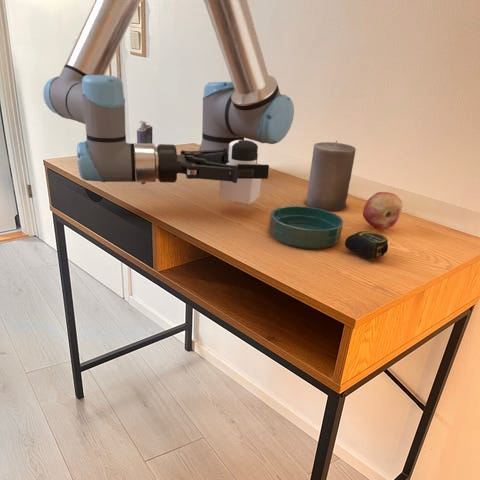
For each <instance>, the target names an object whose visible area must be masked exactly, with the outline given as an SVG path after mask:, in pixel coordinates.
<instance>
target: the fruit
mask: <svg viewBox="0 0 480 480" xmlns="http://www.w3.org/2000/svg"><path fill="white" fill-rule="evenodd" d="M403 206H404V205H403V201H402V198H401V197H399V196H398V195H397V194H395V193H393V192H389V191H388V192H387V191H378V192H376V193H374V194H373V195H371V196H370V197H369V198H368V199H367V201H366V203H365V205H364V207H363V211H362V217H363V218H364V220H365V221H366V222H367V224H369V226H370V227H372V228H373V229H375V230H379V231H384V230H387V229H390V228H392V227H393V226H395V225H396V224H397V222H398V221H399V219H400V217H401V214H402V210H403Z"/></svg>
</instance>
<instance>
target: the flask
mask: <svg viewBox="0 0 480 480" xmlns="http://www.w3.org/2000/svg"><path fill="white" fill-rule="evenodd" d="M147 123H148V122H145V120H140V121H139V124H140V127H138V128H137V130H136V143H143V144H153V125H151V124H147Z"/></svg>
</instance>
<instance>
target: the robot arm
mask: <svg viewBox="0 0 480 480" xmlns="http://www.w3.org/2000/svg"><path fill="white" fill-rule="evenodd" d="M141 1H142V0H94V2H93V5H92V7H91V9H90V11H89V13H88V15H87V17H86V19H85V21H84V23H83V26H82V27H81V30H80V31H79V34H78V36H77V38H76V40H75V42H74V45H73V47H72V49H71V51H70V53H69V55H68V57H67V59H66V61H65V63H64V66H63V68H62V69H61V71H60V74H59V76H54V77H52V78H50V79H49V80H48V81H46V83H45V84H44V87H43V92H42V94H43V95H42V96H43V101H44V103H45V105H46V107H47V108H48V110H50V111H51V112H52V113H54V114H56V115H58V116H59V117H61V118H63V119H67V120H71V121H75V122H78V123H80V124H83V125H85V135H86V140H84V141H80V142H78V143H77V146H76V157H77V169H78V174H79V176H80V178H81V179H82V180H84V181H87V182H100V183H121V182H122V183H124V182H125V183H127V182H129V183H135V182H136V183H140V184H141V185H145V184H146V183H155V182H156V181H157V180H158V182H160V183H176V182H177V179H178V174H182V175H185V176H186V179H188V180H208V181H209V180H210V181H219V182H220V181H232V182H233V183H237V178H240V179H261V180H268V179H269V169H270V165H269V164H261V165H258V164H259V163H258V162H257V163H255V164H237V166H236V165H228V164H227V163H229V161H228V156H229V144H230V143H231V142H233V141H235V140H245V139H247V140H250V141H253V142H257V143H260V144H269V145H275V144H278V143H280V142H281V141H283V139H285V137H287V135H288V133H289V131H290V129H291V127H292V124H293V121H294V117H295V106H294V102H293V100H292V99H291V98H290V97H289V96H287V94H282V93H281V91H280V88H279V84H278V81H277V79H276V77H274V76H273V75H271V74H269V73H268V69H267V66H266V61H265V59H264V55H263V52H262V48H261V44H260V41H259V37H258V33H257V31H256V27H255V24H254V20H253V16H252V13H251V9H250V6H249V2H248V0H203V3H204V7H205V9H206V12H207V14H208V17H209V21H210V23H211V27H212V29H213V31H214V34H215V37H216V40H217V43H218V45H219V46H218V47H219V49H220V52H221V54H222V57H223V60H224V63H225V66H226V68H227V72H228V75H229V77H230V80H231V81H212V82H211V81H210V82H207V83H206V84H205V85H204V89H203V96H202V130H201V131H202V133H201V135H202V136H201V138H202V139H201V142H200V145H199V149H198V150H183V149H182V150H180V154H178V152H177V151H178V150H177V146H176V145H175V144H170V143H169V144H167V143H159V144H158V145H157V146H156V145H155V144H154V143H152V144H143V143H137V142H136V143H135V142H134V143H130V142H129V143H128V142H127V135H126V106H125V105H126V104H125V103H126V99H125V95H124V84H123V81H122V80H121V79H120V78H119V77H118V76H115V75H106V74H107V72H108V70H109V68H110V66H111V63H112V61H113V59H114V57H115V55H116V53H117V51H118V49H119V46H121V45H120V44H121V43H122V40H123V39H124V37H125V34H126V33H127V31H128V28H129V26H130V24H131V22H132V20H133V18H134V16H135V14H136V12H137V9H138V7H139V6H140V3H141ZM258 156H259V153H257V159H258Z"/></svg>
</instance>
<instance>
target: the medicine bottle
mask: <svg viewBox="0 0 480 480" xmlns="http://www.w3.org/2000/svg"><path fill="white" fill-rule="evenodd" d="M258 149H259V145H258V144H257V143H256V142H255V141H253V140H248V139H247V140H246V139H244V140H235V141H233V142H231V143H230V144H229V156H228V161H229V163H227V164H228V165H236V166H237V164H255V163H257V164H258V165H262V164H261V163H258V158H257V154H258ZM219 184H220V185H219V200H221V201H224V202H225V201H226V202H231V203H237V204H243V205H248V206H249V205H251V204H253V203H254V202H255V201H256V200H257V199H259V197H260V196H261V186H262V179H240V178H237V183H233V182H232V181H220V180H219Z"/></svg>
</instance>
